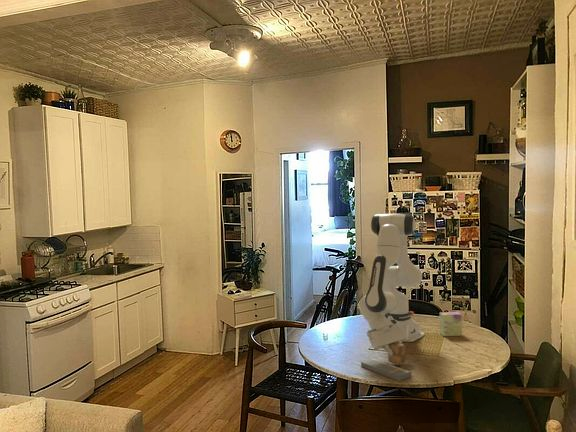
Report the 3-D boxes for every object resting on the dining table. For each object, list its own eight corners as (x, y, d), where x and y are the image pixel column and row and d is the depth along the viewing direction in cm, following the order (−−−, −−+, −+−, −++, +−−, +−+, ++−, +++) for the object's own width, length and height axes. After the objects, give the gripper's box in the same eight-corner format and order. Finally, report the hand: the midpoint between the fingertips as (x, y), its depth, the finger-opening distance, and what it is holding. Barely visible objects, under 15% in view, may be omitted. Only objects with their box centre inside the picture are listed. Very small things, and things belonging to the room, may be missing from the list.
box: (457, 332, 255) (457, 311, 254) (462, 335, 249) (461, 314, 249) (439, 333, 255) (439, 312, 254) (443, 336, 249) (442, 315, 248)
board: (373, 362, 216) (373, 357, 216) (411, 376, 198) (411, 371, 198) (361, 366, 211) (361, 361, 211) (398, 381, 193) (398, 376, 193)
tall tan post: (396, 359, 214) (395, 342, 213) (404, 362, 210) (404, 344, 209) (388, 361, 211) (388, 344, 211) (397, 365, 207) (397, 347, 206)
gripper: (368, 327, 209) (385, 354, 202) (399, 319, 221) (416, 344, 214) (361, 335, 213) (378, 361, 205) (392, 326, 225) (408, 351, 217)
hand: (397, 352), depth 210 cm, fingers closed on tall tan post, 5 cm apart
